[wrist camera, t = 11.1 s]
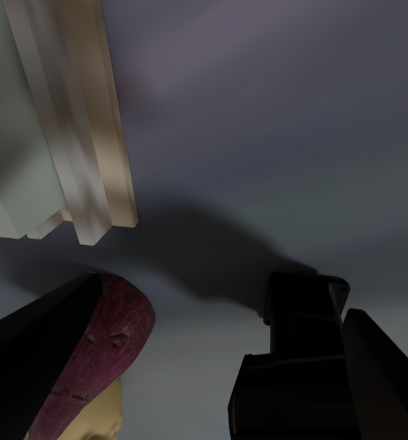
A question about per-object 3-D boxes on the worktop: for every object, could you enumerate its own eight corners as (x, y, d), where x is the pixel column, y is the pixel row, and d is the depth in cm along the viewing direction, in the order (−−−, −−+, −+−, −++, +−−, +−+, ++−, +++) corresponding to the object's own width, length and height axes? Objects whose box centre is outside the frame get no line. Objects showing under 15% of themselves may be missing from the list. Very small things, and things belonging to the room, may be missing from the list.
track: (138, 221, 24) (117, 248, 21) (41, 212, 26) (7, 235, 23) (90, -60, 15) (36, -93, 11) (-55, -42, 17) (-137, -66, 13)
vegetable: (151, 321, 36) (106, 470, 27) (75, 298, 35) (-3, 446, 25) (169, 289, 29) (113, 483, 19) (71, 258, 27) (-44, 450, 17)
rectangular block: (85, 190, 22) (19, 238, 16) (60, 189, 23) (-14, 235, 17) (34, 7, 16) (-101, -20, 10) (1, 9, 17) (-147, -15, 11)
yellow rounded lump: (99, 396, 45) (55, 482, 36) (45, 352, 41) (-19, 436, 32) (149, 388, 40) (113, 486, 31) (93, 337, 36) (33, 432, 27)
